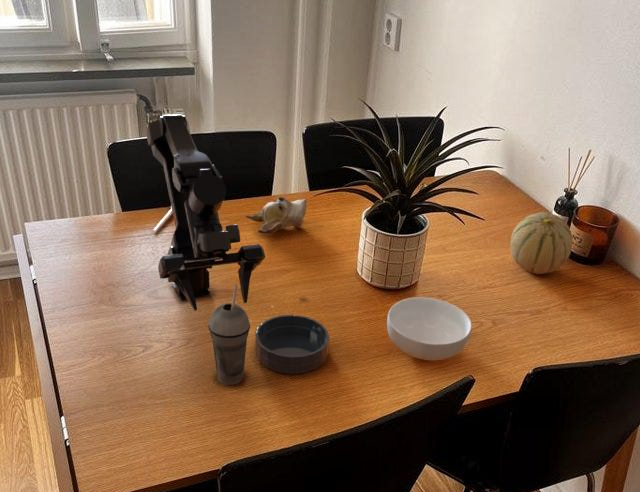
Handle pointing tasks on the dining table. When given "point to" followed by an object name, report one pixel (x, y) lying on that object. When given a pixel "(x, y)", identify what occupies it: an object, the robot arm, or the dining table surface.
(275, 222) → the ceramic sculpture
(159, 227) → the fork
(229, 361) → the beverage cup
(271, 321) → the dark gray pet bowl
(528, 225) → the cantaloupe
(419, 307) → the cereal bowl
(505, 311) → the dining table surface
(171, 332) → the dining table surface
